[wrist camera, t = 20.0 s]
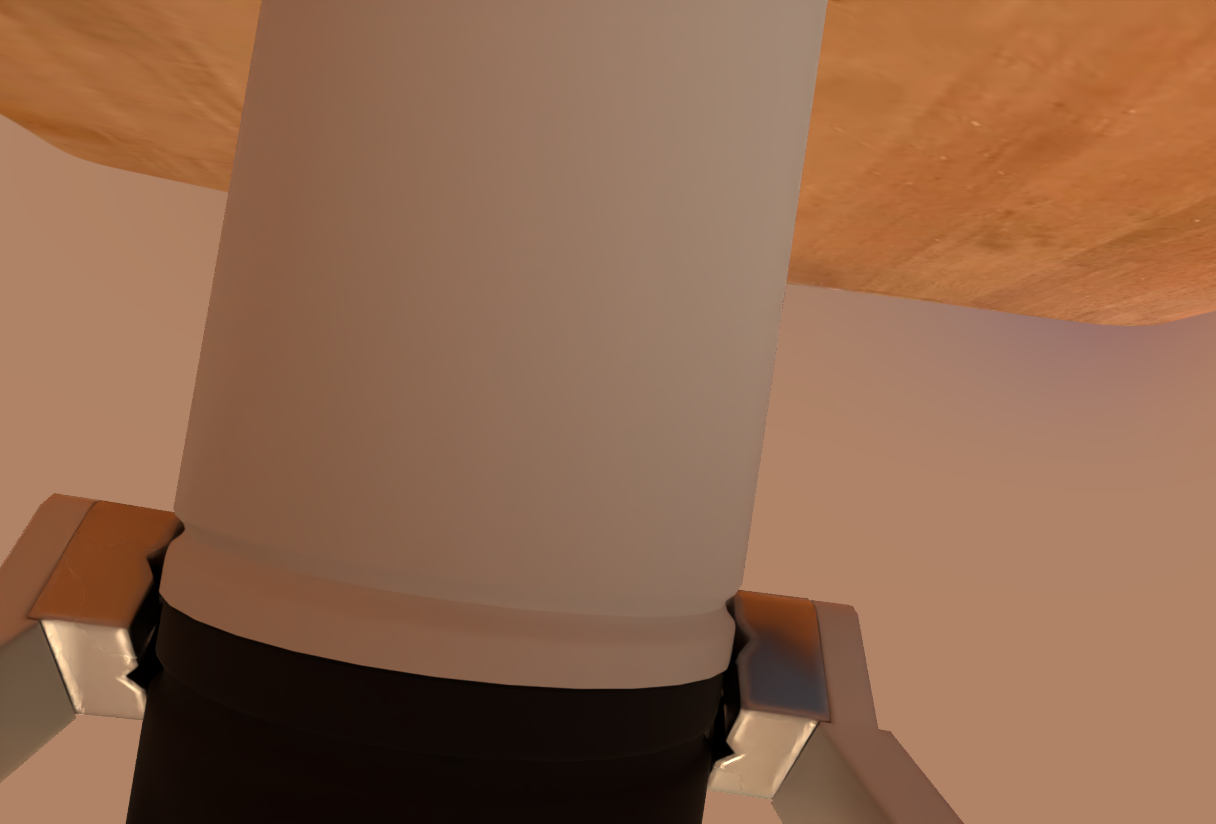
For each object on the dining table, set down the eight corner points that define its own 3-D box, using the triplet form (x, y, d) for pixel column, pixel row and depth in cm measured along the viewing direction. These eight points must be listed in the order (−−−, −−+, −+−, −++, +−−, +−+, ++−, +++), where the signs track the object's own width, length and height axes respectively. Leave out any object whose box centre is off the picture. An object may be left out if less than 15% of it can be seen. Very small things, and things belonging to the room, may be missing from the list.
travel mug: (745, -1530, 7) (294, 1238, 6) (1020, -665, 12) (791, 949, 11) (281, -888, 11) (-36, 868, 10) (632, -434, 16) (439, 773, 15)
